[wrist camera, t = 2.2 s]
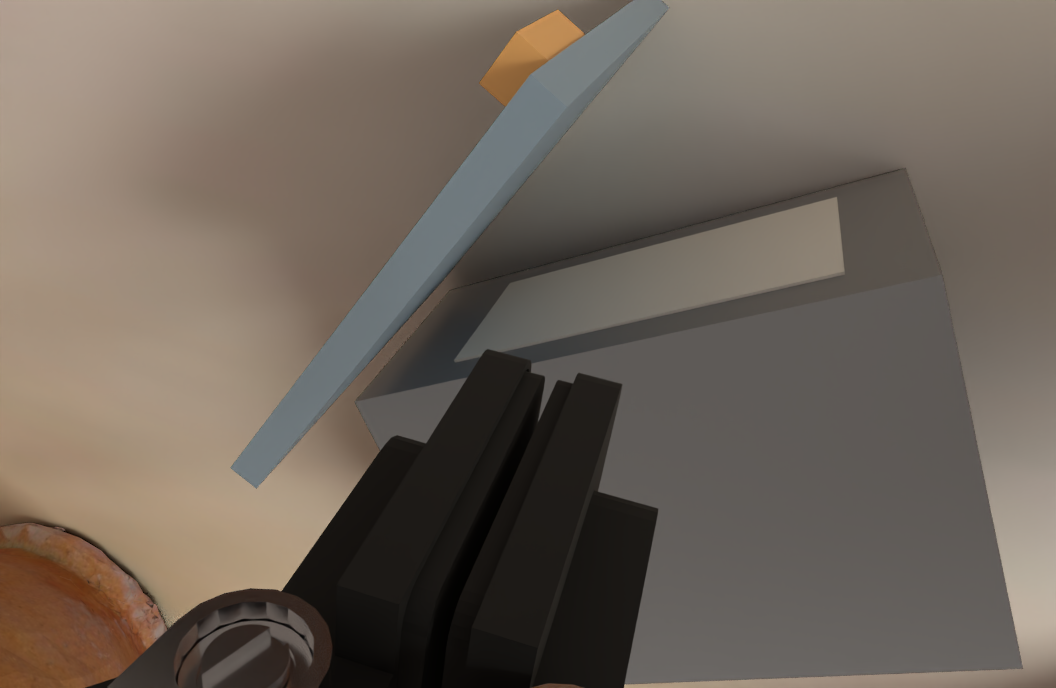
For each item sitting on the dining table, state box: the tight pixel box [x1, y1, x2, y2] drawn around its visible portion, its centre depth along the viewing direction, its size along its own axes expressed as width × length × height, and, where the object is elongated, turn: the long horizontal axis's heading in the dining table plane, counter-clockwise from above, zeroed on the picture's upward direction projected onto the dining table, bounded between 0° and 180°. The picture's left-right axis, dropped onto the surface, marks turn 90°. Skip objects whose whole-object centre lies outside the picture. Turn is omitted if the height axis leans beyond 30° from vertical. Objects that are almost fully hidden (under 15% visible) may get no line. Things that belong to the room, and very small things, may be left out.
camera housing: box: [355, 168, 1023, 684], centre depth 28 cm, size 18×12×8 cm, turn 112°
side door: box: [231, 0, 669, 488], centre depth 22 cm, size 12×2×12 cm, turn 142°
